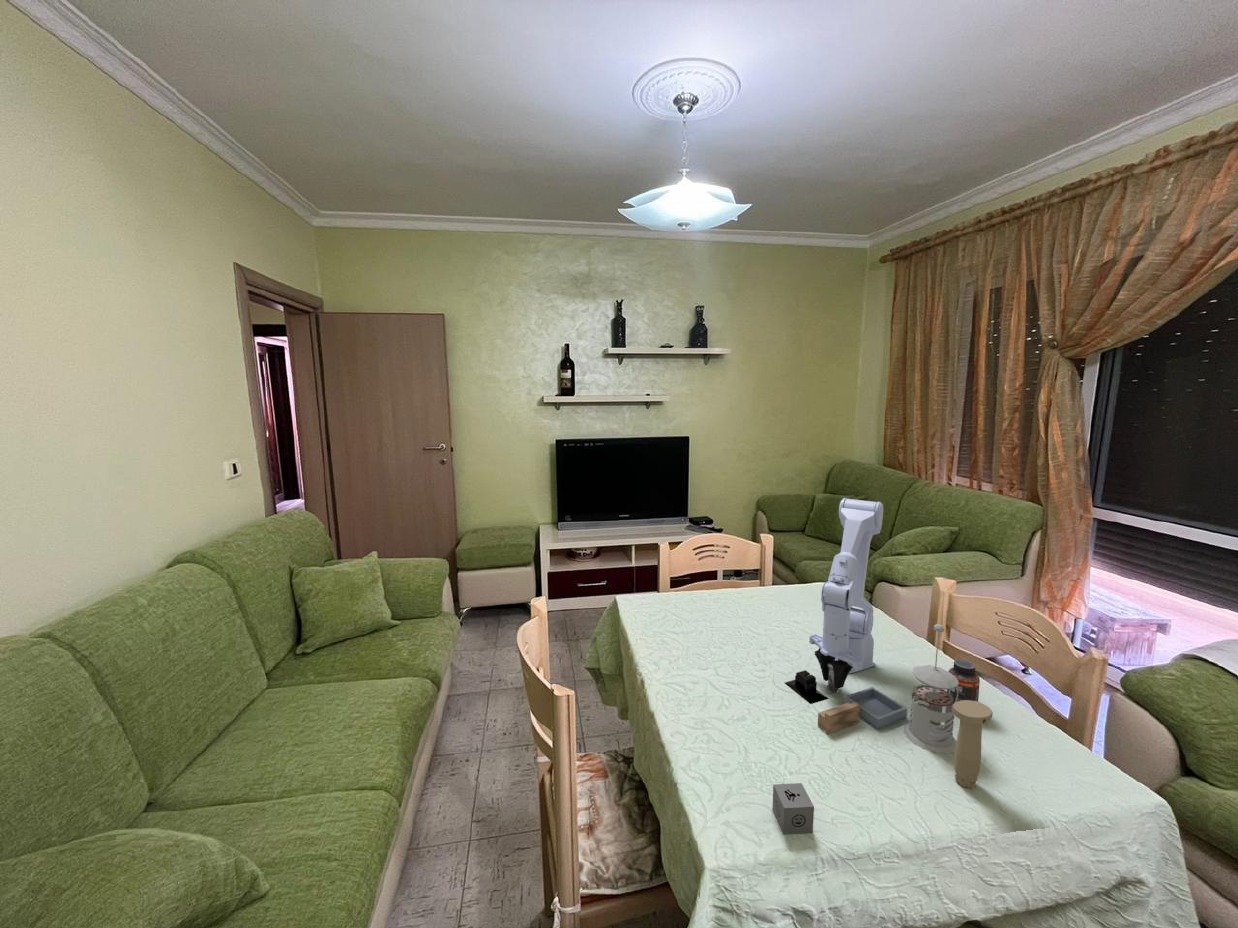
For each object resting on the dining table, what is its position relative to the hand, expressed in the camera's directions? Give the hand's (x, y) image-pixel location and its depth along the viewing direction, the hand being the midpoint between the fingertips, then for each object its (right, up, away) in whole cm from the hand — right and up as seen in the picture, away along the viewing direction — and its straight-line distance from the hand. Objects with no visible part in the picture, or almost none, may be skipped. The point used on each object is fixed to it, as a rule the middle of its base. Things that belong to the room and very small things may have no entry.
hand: (833, 683), depth 122 cm
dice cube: (-23, -8, -37) cm, 44 cm away
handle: (+12, -6, -29) cm, 32 cm away
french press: (+14, -4, -16) cm, 22 cm away
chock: (-4, -4, -12) cm, 14 cm away
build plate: (-7, -3, 0) cm, 7 cm away
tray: (+6, -3, -9) cm, 11 cm away
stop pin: (0, -2, 0) cm, 2 cm away
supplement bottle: (+26, -3, -8) cm, 27 cm away
